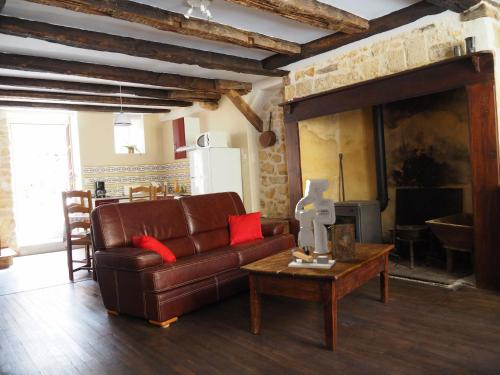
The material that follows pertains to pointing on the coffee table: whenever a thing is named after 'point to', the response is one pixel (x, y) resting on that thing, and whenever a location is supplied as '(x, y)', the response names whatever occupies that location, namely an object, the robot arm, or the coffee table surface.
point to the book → (343, 242)
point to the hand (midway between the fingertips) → (307, 256)
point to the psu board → (313, 263)
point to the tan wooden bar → (301, 255)
